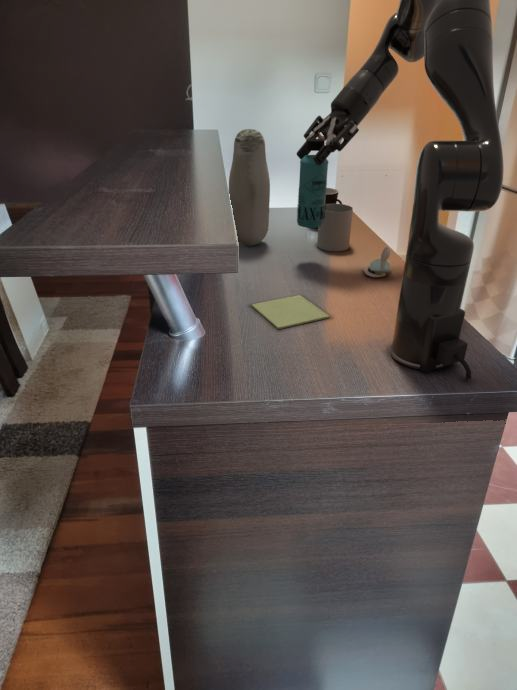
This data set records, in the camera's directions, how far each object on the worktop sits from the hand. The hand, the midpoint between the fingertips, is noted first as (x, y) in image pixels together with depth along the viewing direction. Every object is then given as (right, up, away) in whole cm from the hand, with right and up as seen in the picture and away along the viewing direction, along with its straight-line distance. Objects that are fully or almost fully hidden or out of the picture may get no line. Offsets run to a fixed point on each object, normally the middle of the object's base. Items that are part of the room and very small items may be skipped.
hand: (307, 159), depth 112 cm
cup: (+9, -15, +22) cm, 28 cm away
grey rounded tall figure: (-13, -14, +23) cm, 30 cm away
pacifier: (+16, -24, +5) cm, 30 cm away
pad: (-5, -34, -13) cm, 37 cm away
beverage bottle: (+1, -14, +8) cm, 16 cm away
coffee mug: (+8, -6, +38) cm, 39 cm away
